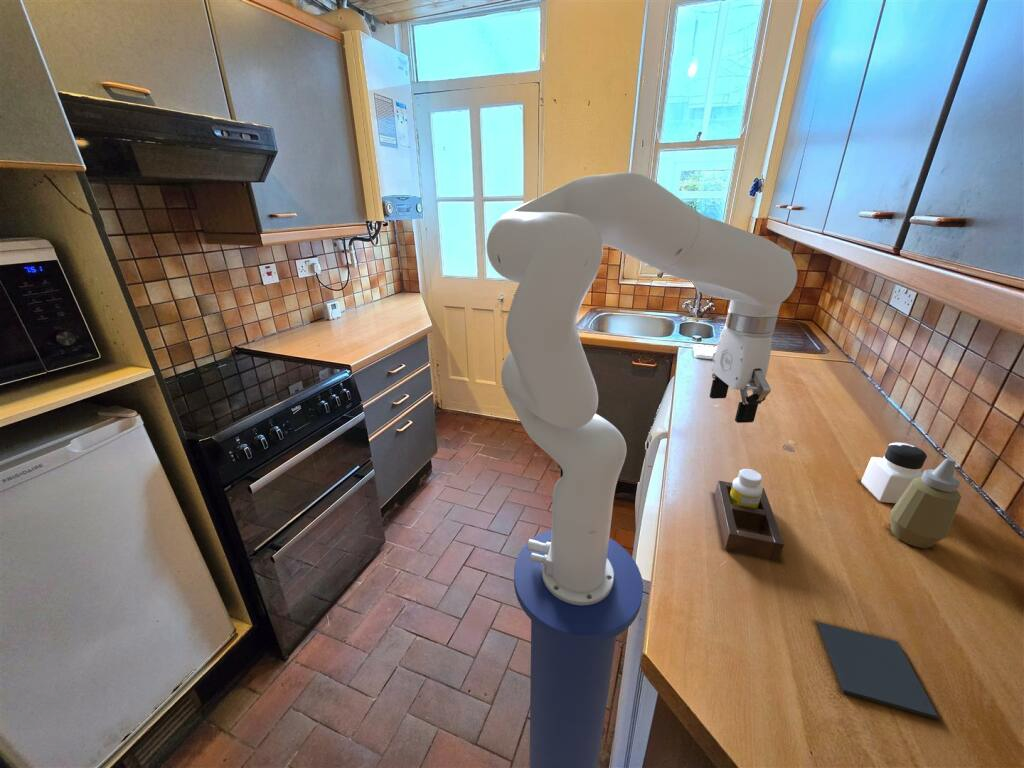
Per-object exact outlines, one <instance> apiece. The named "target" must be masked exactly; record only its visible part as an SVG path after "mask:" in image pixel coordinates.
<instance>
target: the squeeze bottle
mask: <svg viewBox="0 0 1024 768" xmlns="http://www.w3.org/2000/svg"><path fill="white" fill-rule="evenodd" d="M956 461H957V460H956V459H954V458H951V457H946V458H945V459H944V460H943V461H942V462H941V463H940V464H939V465H938V466H937V467H936V468H935V469H933V468H927V469H925V470H924V471H923V472H922V473H923V475H922V477H919V478H914V479H913V480H912V481H911V483H910V484H909V485H908V487H907V488H906V490H905V491H904V493H903V494H902V496H901V497H900V498H899V500H898V501H897V503H894V506H893V507H892V508H891V510H890V512H889V515H890V516H889V517H890V518H889V519H890V520H889V521H890V531H891V533H892V534H893V535H894V537H896V538H897V539H899V540H900V541H902V542H904V543H906V544H908V545H909V546H914V547H916V548H921V549H922V548H923V549H927V548H931V547H933V546H934V545H936V544H937V543H938V542H939V543H940V542H941V541H942V540H943V539H945V538H946V537H947V536H948V534H949V533H950V529H951V526H952V523H953V521H954V518H955V516H956V513H957V511H958V507H959V504H960V502H961V499H962V495H961V493H960V492H959V491H958V488H959V486H960V484H961V481H960V479H958V478H957V477H956V476H955V470H956V469H955V468H956V463H957V462H956Z"/></svg>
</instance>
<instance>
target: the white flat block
mask: <svg viewBox="0 0 1024 768" xmlns="http://www.w3.org/2000/svg"><path fill="white" fill-rule="evenodd" d="M699 345H700V346H701V347H700V346H699ZM698 346H699V347H698ZM709 346H710V347H709ZM713 346H714V345H705V346H704V344H693V356H694V358H697V359H704V360H705V359H706V360H713V354H714V353H715V351H716V348H717V346H715V347H713Z"/></svg>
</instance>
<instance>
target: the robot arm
mask: <svg viewBox="0 0 1024 768" xmlns="http://www.w3.org/2000/svg"><path fill="white" fill-rule="evenodd" d="M486 240H487V241H486V253H487V257H488V261H489V263H490V265H491V267H492V268H493V270H495V272H497V273H498V274H499V276H501V277H503V278H505V279H507V280H509V281H512V282H514V283H515V282H516V283H518V286H517V287H516V290H515V293H514V295H513V299H512V301H511V304H510V307H509V310H508V313H507V317H506V320H505V321H506V322H505V335H506V336H505V337H506V342H507V345H508V348H509V350H510V351H509V352H508V354H507V355H506V357H505V358H504V360H503V363H502V366H501V374H500V375H501V376H500V378H501V385H502V388H503V391H504V393H505V395H506V397H507V399H508V401H509V403H510V405H511V407H512V408H513V410H514V412H515V414H516V416H517V418H518V420H519V422H520V423H521V425H522V427H523V429H524V430H525V432H526V434H527V435H528V436H529V438H530V439H531V440H532V441H533V443H535V444H536V445H537V446H538V447H539V448H540V449H541V450H543V452H545V453H546V454H547V455H548V456H550V457H551V458H552V460H553V461H555V462H556V463H557V464H558V465H559V467H560V468H561V470H562V476H561V477H560V478H559V479H557V481H556V482H555V484H554V487H553V489H552V490H553V491H552V510H551V511H552V512H551V515H552V516H551V529H552V535H551V542H546V544H545V543H541V542H539V541H536V540H532V538H529V539H528V541H527V542H528V548H527V549H528V550H530V551H534V552H540V553H544V556H542V555H539V554H536V553H532V554H531V559H530V560H531V561H534V562H540V563H542V578H543V581H544V583H545V586H546V587H547V588H548V590H549V591H550V592H551V593H552V594H553V595H554V596H556V597H557V598H558V599H560V600H562V601H564V602H566V603H570V604H573V605H581V606H582V605H591V604H595V603H597V602H599V601H601V600H603V599H604V598H605V597H607V595H608V594H609V593H610V591H611V589H612V587H613V582H614V572H613V568H612V565H611V563H610V562H609V560H608V558H607V553H608V544H609V538H610V534H611V525H612V518H613V508H614V500H615V493H616V488H617V484H618V480H619V477H620V475H621V473H622V472H621V471H622V469H623V466H624V463H625V460H626V457H627V452H628V451H627V442H626V440H625V438H624V436H623V434H622V433H621V432H620V430H619V429H618V428H617V426H615V425H614V424H613V423H611V422H610V421H609V420H607V419H606V418H604V417H603V416H601V415H599V414H598V413H597V410H598V406H599V391H598V387H597V383H596V380H595V377H594V375H593V372H592V369H591V366H590V364H589V362H588V359H587V356H586V353H585V350H584V348H583V344H582V342H581V338H580V334H579V330H578V317H579V313H580V309H581V307H582V304H583V302H584V300H585V298H586V295H587V294H588V292H589V290H590V289H591V287H592V285H593V283H594V281H595V279H596V278H597V275H598V273H599V271H600V268H601V264H602V260H603V253H604V252H603V251H604V248H603V247H609V248H611V249H614V250H617V251H619V252H620V253H621V252H622V253H623V254H626V256H629V257H631V258H634V259H636V260H637V261H640V262H641V263H644V264H646V265H647V266H649V267H651V268H653V269H655V270H657V271H659V272H661V273H663V274H665V275H667V276H672V277H675V278H678V279H682V280H686V281H688V282H689V281H690V282H692V284H693V286H694V287H695V289H696V290H697V291H698V292H700V293H701V294H702V295H705V296H707V297H711V298H715V299H722V300H726V301H730V302H729V306H728V311H727V315H726V320H725V324H724V326H723V328H722V331H721V333H720V335H719V338H718V341H717V345H716V347H717V348H716V351H715V353H714V354H713V359H712V365H711V372H712V375H711V377H712V382H711V387H710V391H709V398H710V399H713V400H715V399H727V396H728V392H729V388H731V390H734V391H739V392H740V397H741V401H739V402H738V404H737V405H738V406H737V409H736V412H735V413H736V414H735V418H734V421H735V422H736V423H737V424H743V423H745V424H746V423H747V424H748V423H753V422H754V421H755V418H756V414H757V411H758V408H759V405H761V404H762V402H764V401H765V400H766V398H767V397H768V395H769V394H770V393H771V391H772V388H771V386H770V385H769V382H768V381H767V373H768V369H769V365H770V360H771V352H772V345H773V344H772V343H773V342H772V341H773V335H774V332H775V329H776V324H777V321H778V317H779V311H780V308H781V305H782V303H783V302H785V301H786V300H787V299H788V298H789V297H790V296H791V294H792V293H793V291H794V289H795V288H796V284H797V281H798V269H797V264H796V262H795V260H794V258H793V255H792V252H790V251H789V250H788V249H784V248H783V247H781V246H780V245H778V244H777V243H775V242H774V241H771V240H769V239H768V238H766V237H763V236H762V235H758V234H756V233H754V232H751V231H749V230H746V229H745V230H744V229H741V228H738V227H737V226H734V225H731V224H729V223H726V222H723V221H722V220H718V219H715V218H712V217H708V216H706V215H704V214H702V213H701V212H699V211H697V210H696V209H695V208H694V207H692V206H690V205H689V204H688V203H686V202H684V201H683V200H682V199H680V198H679V197H678V196H676V195H675V194H673V193H672V192H671V191H670V190H668V189H667V188H665V187H664V186H662V185H661V184H659V183H658V182H657V181H655V180H653V179H652V178H650V177H648V176H647V175H645V174H641V173H637V172H631V171H629V172H628V171H627V172H625V171H624V172H623V171H622V172H614V173H602V174H591V175H585V176H582V177H578V178H576V179H574V180H572V181H569V182H567V183H565V184H563V185H560V186H558V187H556V188H554V189H553V190H551V191H549V192H546V193H544V194H542V195H541V196H539V197H537V198H534V199H532V200H530V201H528V202H526V203H524V204H521V205H519V206H518V207H515V208H513V209H511V210H509V211H508V212H506V213H504V214H503V215H501V216H500V218H498V219H497V220H496V221H495V223H494V224H493V225H492V227H491V229H490V231H489V233H488V236H487V239H486ZM750 391H751V392H752V394H751V395H749V393H748V392H750Z"/></svg>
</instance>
